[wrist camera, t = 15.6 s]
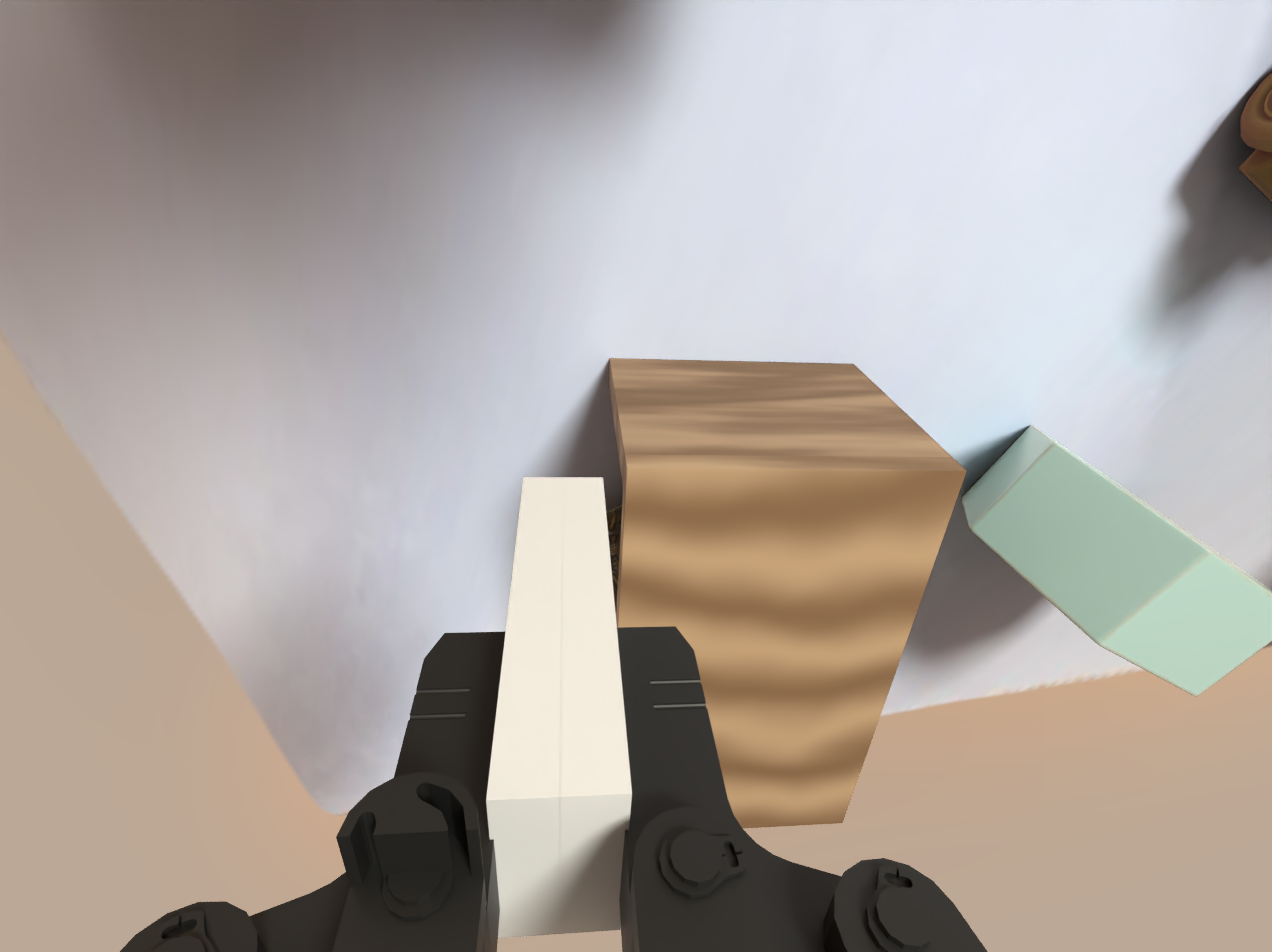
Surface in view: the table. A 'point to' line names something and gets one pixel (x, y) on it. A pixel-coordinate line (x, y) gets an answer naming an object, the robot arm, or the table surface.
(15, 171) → the table surface
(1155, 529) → the planter
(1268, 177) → the wooden toy train
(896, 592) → the walnut shelf
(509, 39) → the table surface
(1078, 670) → the table surface
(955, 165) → the table surface
